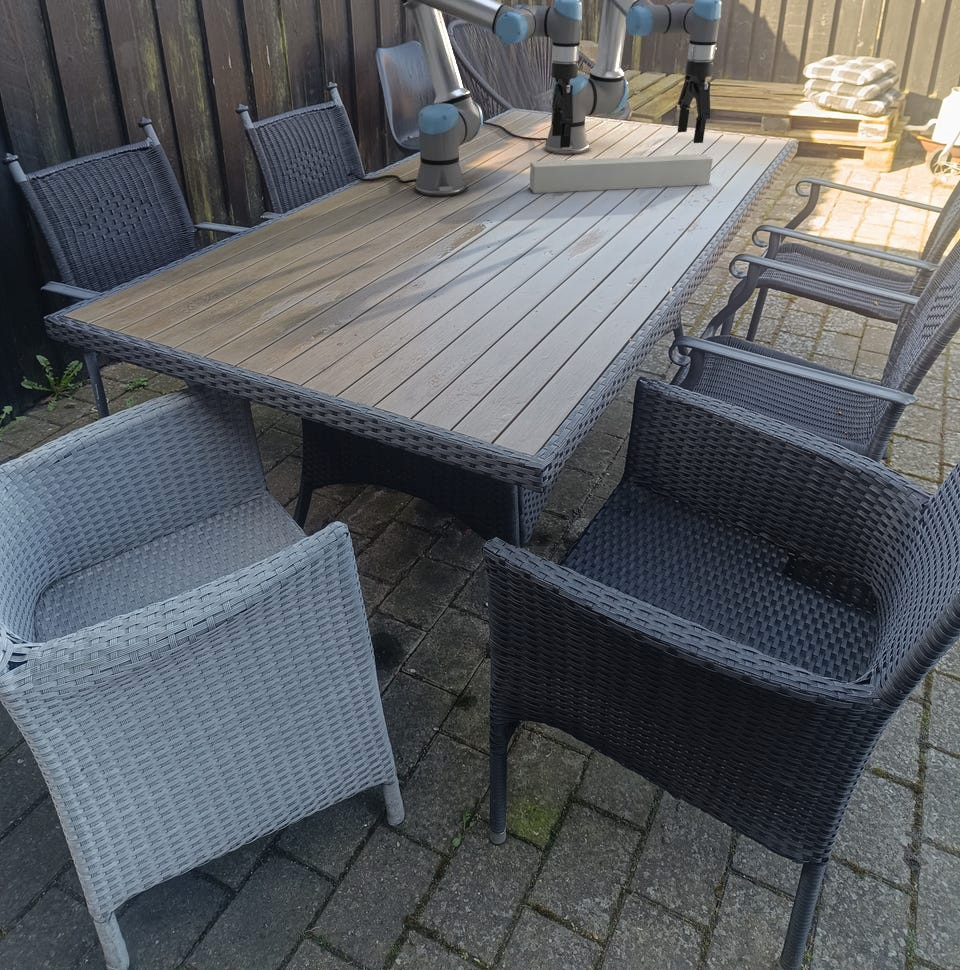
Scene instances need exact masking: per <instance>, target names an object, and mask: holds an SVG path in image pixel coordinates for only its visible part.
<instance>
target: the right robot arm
mask: <svg viewBox="0 0 960 970" xmlns="http://www.w3.org/2000/svg"><path fill="white" fill-rule="evenodd" d="M601 8H602V10H601V17H600V25H599V33H598V41H597V50H596V57H595V63H594V64H595V65H594V66H593V67H592V68H591V69H590V71H589V77H588V76H587V75H586V74H582V73H581V74H580V73H578V76H577V77H576V78H574V79H570V85H573V93H572V96H573V123H571V135H570V147H566V148H560V139H561V136H552V129H553V108H552V107H551V123H550V128H549V131H548V135H547V137H529V136H521V135H518V134H515V133H513V132H511V131H510V130H508V129H506V128H505V127H503V126H502V125H499V124H497V123H492V122H487V121H484V120H483V124H482V125H486V126H492V127H496V128H499V129H501V130H503V131H504V132H505V133H507V134H508V135H510V136H511V137H513V138H518V139H522V140H530V141H545V143H544V149H545V151H547V152H549V153H553V154H558V155H578V154H579V155H580V154H584V153H586V152H588V151H589V147H590V146H589V140H588V137H587V136H588V135H587V131H586V117H590V116H598V115H599V116H600V115H611V114H613V113H614V114H615V113H618V112H620V111H621V110H622V109H623V108H624V106H625V105H626V104H627V101H628V97H629V91H630V90H629V89H630V88H629V82H628V80H627V78H626V77H625V72H624V71H623V69H622V68H621V67H622V59H623V53H624V45H625V38H626V32H627V33H628V34H629V35H630V36H633V37H646V36H657V35H670V34H671V35H673V34H687V35H690V37H689V43H688V49H687V56H686V57H687V59H688V60H687V61H686V67H685V77H684V81H683V84H682V85H683V86H682V88H681V92H680V94H679V98H678V101H677V105H678V106H679V116H678V125H677V130H676V131H677V133H687V130H688V123H689V117H690V109H691V103H692V102H693V99H695V106H696V113H697V117H696V118H695V120H696V121H695V128H694V136H693V144H703V143H704V138H705V131H706V126H707V125H706V123H707V121H708V120H710V119H711V82H710V81H707V77H710V76H712V75H713V68H714V61H713V60H714V59H715V52H716V51H717V47H716V46H717V40H718V35H719V27H720V20H721V17H722V14H721V13H722V1H721V0H695V1H694V4H693V3H688V2H685V1H680V2H679V1H675V2H672V3H669V4H654V3H653V2H652V1H651V0H603V1H602V7H601ZM554 90H555V81H554V82H553V86H552V93H551V97H552V99H551V101H552V102H551V105H552V104H553V97H554Z"/></svg>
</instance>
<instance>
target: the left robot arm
mask: <svg viewBox="0 0 960 970" xmlns="http://www.w3.org/2000/svg"><path fill="white" fill-rule="evenodd" d="M401 3H402V6H403V7H405V8H406V9H408V11H410V15H411V18H412V21H413V24H414V29H415V32H416V34H417V37H418V41H419V45H420V47H421V51H422V54H423V57H424V60H425V63H426V67H427V70H428V74H429V78H430V80H431V83H432V87H433V90H434V94H435V98H434V101H433V104H429V105H427V106H425V107H422V109H421V110H420V112H419V113H418V122H417V123H418V136H419V138H418V139H419V157H420V158H419V159H420V161H419V162H420V164H419V168H418V172H417V176H416V178H410V179H406V180H403V179H402V178H401V177H400V176H399V175H396V174H385V175H379V176H377V177H371V178H370V177H369V178H364V177H361V176H360V175H358V174H357V172H355V171H349V172H348V173H347V177H351V176H354V177H355V178H356V179H357V180H358V181H361V182H375V181H379V180H383V179H397V181H398V182H399V183H400V184H411V183H415V185H414V186H415V192H417V193H418V194H420V195H424V196H430V197H450V196H455V195H459V194H461V193H463V192H464V191H466V181H465V179H464V176H463V172H462V169H461V165H460V146H461V145H464V144H466V143H469V142H472V140H474V139H475V138H476V137H477V136H478V135H479V133H480V132H481V130H482V127H483V125H484V124H483V121H484V116H483V111H482V109H481V107H480V105H479V104H478V103H477V102H475V101H474V100H473V99H472V96H471V92H470V90H469V89H467V88H465V87H464V85H463V82H462V79H461V75H460V72H459V68H458V65H457V62H456V58H455V55H454V51H453V48H452V44H451V41H450V37H449V34H448V31H447V27H446V23H445V20H444V17H443V13H444V14H446V15H449V16H450V17H454V18H455V19H457V20H460V21H462V22H464V23H467V24H469V25H472V26H475V27H476V28H479V29H480V30H484V31H485V32H488V33H490V34H492V35H495V36H497V38H498V39H499V40H500V41H501V42H502V43H504V44H506V45H517V44H519V43H521V42H523V41H525V40H528V39H531V38H534V37H538V38H539V37H540V38H541V37H542V38H552V44H551V45H552V46H551V61H552V63H551V71H550V76H551V78H553V79H555V80H554V82H555V90H554V97H553V96H552V97H553V104H552V103H551V109H552V108H553V129H552V136H561V139H560V148H566V147H570V135H571V123H573V96H572V93H573V85H570V79H574V78H576V77H577V76H578V74H579V63H578V61H579V57H580V53H581V52H582V48H580V46H581V45H580V43H581V30H582V20H583V17H582V10H583V7H582V2H581V0H554V4H553V5H552V6H549V5H548V6H547V5H534V4H527V3H525V4H517V5H515V6H514V7H512V6H509V5H506V4H504V3H502V2H499V1H497V0H401Z"/></svg>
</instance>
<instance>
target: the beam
mask: <svg viewBox="0 0 960 970" xmlns="http://www.w3.org/2000/svg"><path fill="white" fill-rule="evenodd" d="M713 161H714V159H713V158H712V157H711V156H709V155H708V154H706V153H695V154H674V155H671V154H670V155H649V156H628V157H605V158H602V157H601V158H579V159H560V160H538V161H530V166H529V167H530V171H529V188H530V190H531V192H532V193H533V194H545V193H565V192H566V193H567V192H585V191H586V192H588V191H605V190H606V191H608V190H609V191H610V190H626V189H628V190H629V189H645V188H646V189H647V188H649V189H650V188H667V187H686V186H708V185H710V179H711V173H712V167H713Z"/></svg>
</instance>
